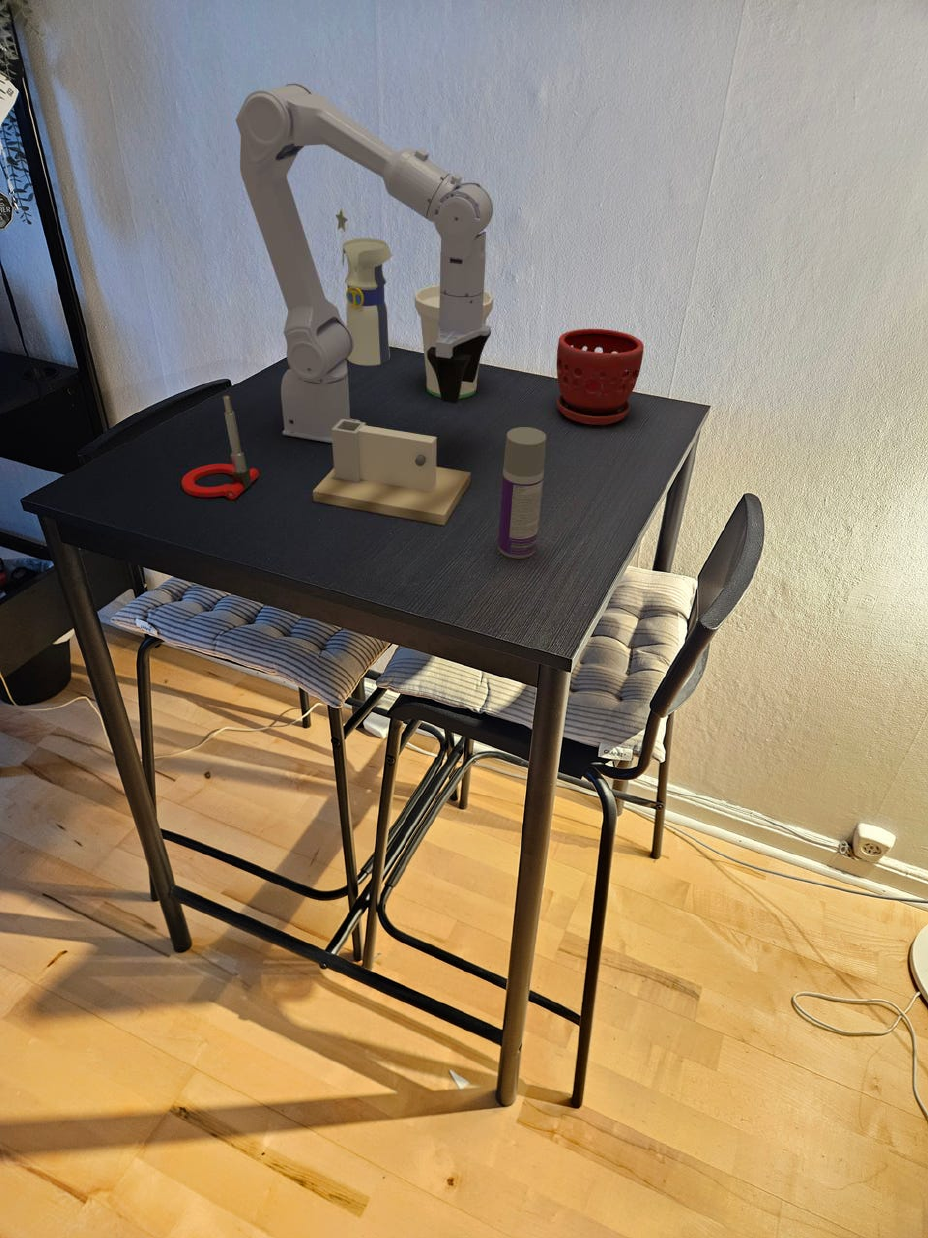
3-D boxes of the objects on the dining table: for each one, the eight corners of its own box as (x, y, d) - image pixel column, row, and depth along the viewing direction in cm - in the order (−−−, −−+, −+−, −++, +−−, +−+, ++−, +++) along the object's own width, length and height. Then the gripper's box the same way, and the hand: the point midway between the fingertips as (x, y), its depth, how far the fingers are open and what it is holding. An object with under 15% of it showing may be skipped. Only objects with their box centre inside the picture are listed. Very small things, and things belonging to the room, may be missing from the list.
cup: (488, 405, 136) (494, 310, 126) (412, 402, 136) (411, 306, 126) (488, 376, 145) (492, 285, 136) (416, 373, 145) (416, 282, 136)
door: (334, 477, 112) (331, 429, 108) (344, 466, 114) (341, 418, 110) (429, 494, 109) (430, 445, 105) (437, 482, 112) (438, 434, 107)
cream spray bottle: (376, 370, 146) (371, 214, 130) (336, 359, 149) (326, 207, 134) (401, 355, 152) (399, 205, 136) (362, 346, 155) (356, 198, 139)
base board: (313, 501, 110) (310, 469, 107) (349, 461, 119) (347, 430, 116) (444, 525, 106) (444, 492, 103) (470, 482, 115) (471, 451, 112)
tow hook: (171, 495, 111) (233, 504, 108) (148, 402, 103) (214, 410, 101) (204, 467, 117) (263, 475, 115) (184, 378, 109) (248, 384, 107)
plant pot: (649, 419, 134) (662, 345, 126) (587, 437, 128) (597, 360, 120) (595, 390, 142) (605, 319, 135) (534, 406, 136) (541, 333, 129)
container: (495, 538, 104) (503, 426, 95) (532, 537, 105) (543, 426, 95) (500, 559, 100) (508, 445, 91) (538, 558, 101) (550, 444, 92)
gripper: (475, 311, 101) (470, 416, 109) (506, 278, 112) (500, 376, 120) (420, 303, 103) (420, 407, 111) (456, 272, 114) (453, 369, 122)
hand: (458, 391), depth 116 cm, fingers open, 7 cm apart
